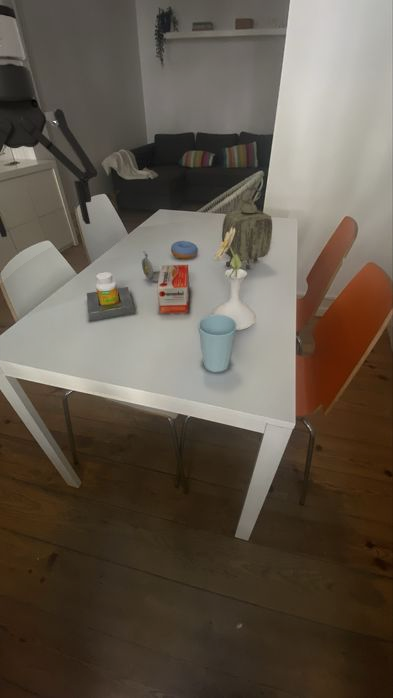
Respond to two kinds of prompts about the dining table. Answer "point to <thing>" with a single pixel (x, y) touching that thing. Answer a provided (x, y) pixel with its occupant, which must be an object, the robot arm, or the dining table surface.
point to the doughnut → (184, 249)
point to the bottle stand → (110, 306)
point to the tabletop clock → (248, 231)
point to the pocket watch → (149, 270)
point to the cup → (216, 341)
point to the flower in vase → (234, 289)
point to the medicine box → (173, 289)
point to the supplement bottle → (106, 289)
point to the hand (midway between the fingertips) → (47, 228)
